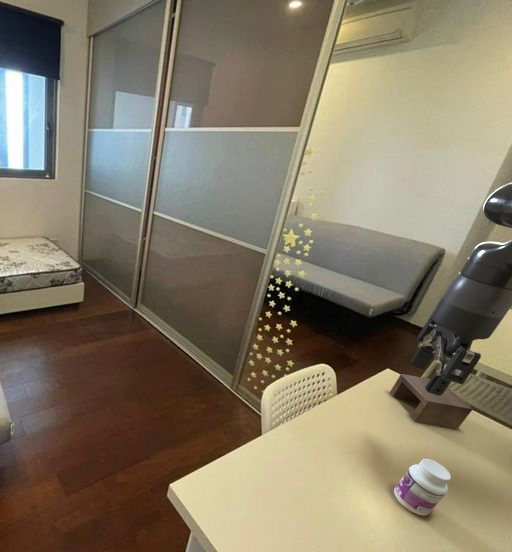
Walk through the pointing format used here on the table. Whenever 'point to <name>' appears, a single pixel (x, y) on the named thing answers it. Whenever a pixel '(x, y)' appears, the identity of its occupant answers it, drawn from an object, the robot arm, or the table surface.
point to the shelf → (431, 403)
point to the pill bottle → (422, 486)
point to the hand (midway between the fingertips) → (424, 378)
